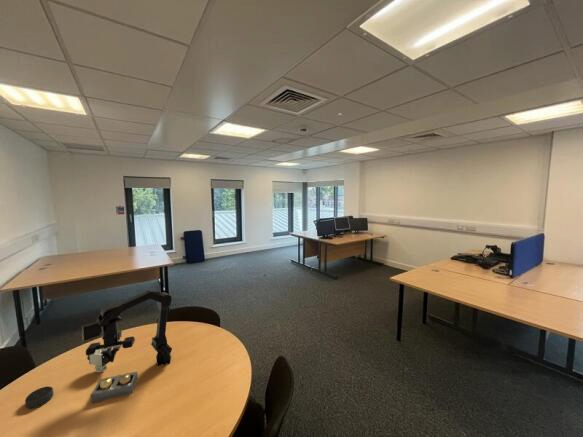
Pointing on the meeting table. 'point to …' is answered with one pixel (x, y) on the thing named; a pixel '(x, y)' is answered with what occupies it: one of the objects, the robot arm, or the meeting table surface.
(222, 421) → the meeting table surface
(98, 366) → the pneumatic valve
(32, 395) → the smart speaker
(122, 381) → the dull gold rounded cylinder
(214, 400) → the meeting table surface
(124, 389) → the jig
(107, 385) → the brass domed cylinder
